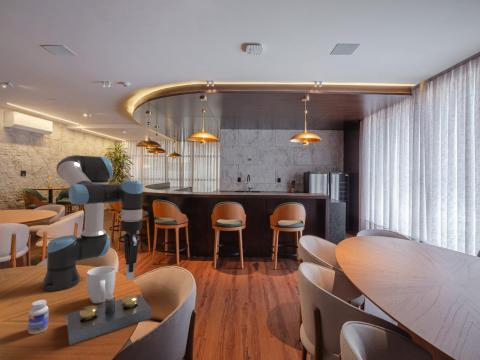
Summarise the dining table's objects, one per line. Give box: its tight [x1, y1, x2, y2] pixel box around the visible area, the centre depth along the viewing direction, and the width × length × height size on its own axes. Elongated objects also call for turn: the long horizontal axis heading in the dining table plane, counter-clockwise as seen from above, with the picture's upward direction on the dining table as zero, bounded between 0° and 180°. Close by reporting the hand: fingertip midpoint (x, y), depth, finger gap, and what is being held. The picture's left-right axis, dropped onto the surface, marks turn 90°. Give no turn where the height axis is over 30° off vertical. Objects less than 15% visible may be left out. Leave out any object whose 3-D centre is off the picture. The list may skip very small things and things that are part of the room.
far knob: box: [122, 294, 137, 309], centre depth 97 cm, size 5×5×6 cm
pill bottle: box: [27, 299, 49, 335], centre depth 86 cm, size 5×5×10 cm
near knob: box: [79, 305, 97, 322], centre depth 88 cm, size 5×5×6 cm
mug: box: [86, 265, 116, 304], centre depth 107 cm, size 15×11×13 cm
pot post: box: [104, 293, 116, 313], centre depth 92 cm, size 3×3×6 cm
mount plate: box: [66, 294, 152, 347], centre depth 92 cm, size 14×26×4 cm, turn 128°
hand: (129, 279), depth 97 cm, fingers closed
